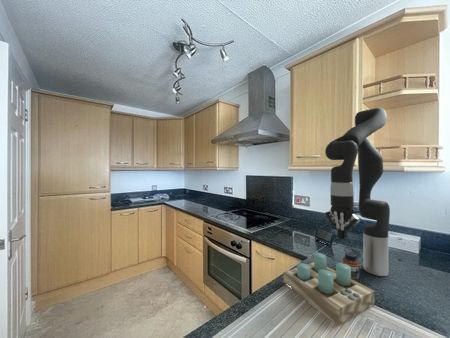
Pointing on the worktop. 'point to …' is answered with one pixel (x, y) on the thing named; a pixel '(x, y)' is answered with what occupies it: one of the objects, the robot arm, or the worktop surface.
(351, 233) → the worktop surface
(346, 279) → the button
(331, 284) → the button
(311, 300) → the console
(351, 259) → the supplement bottle
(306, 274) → the button
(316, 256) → the button
